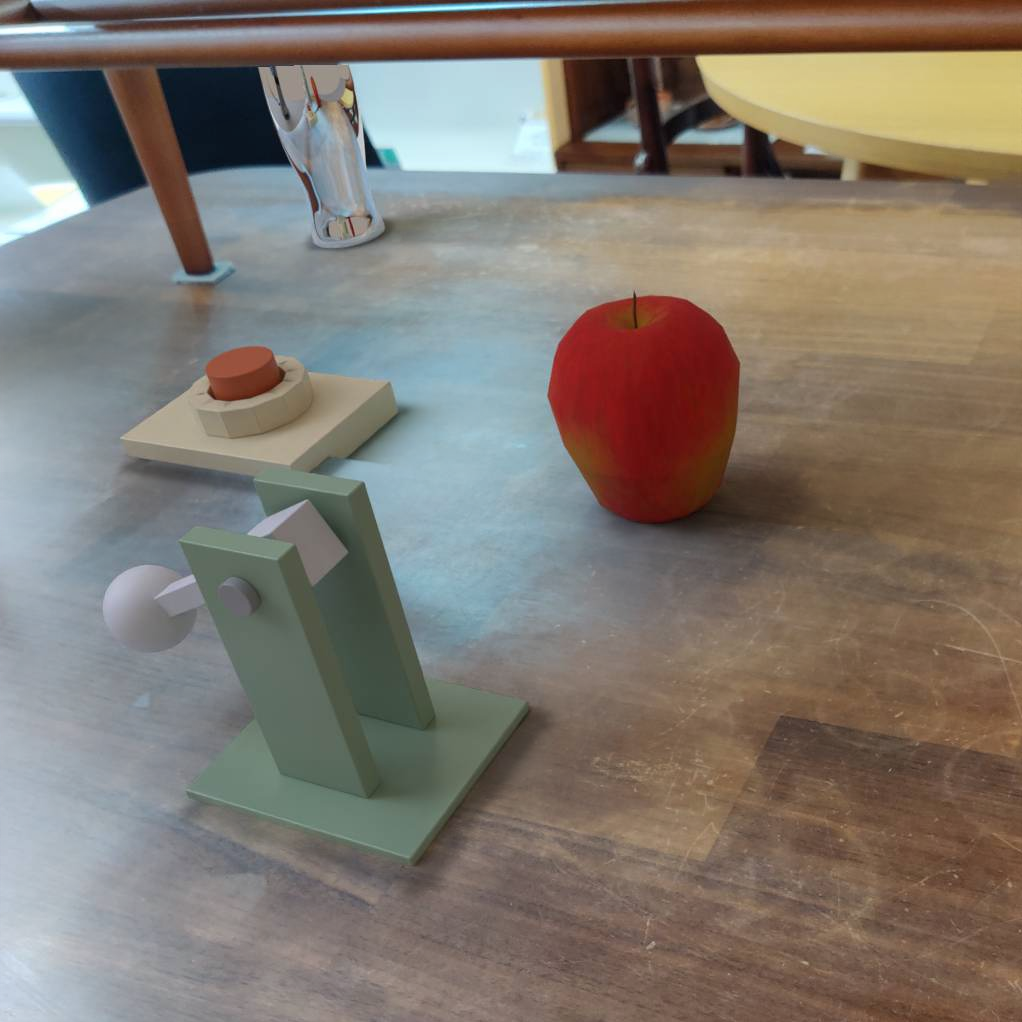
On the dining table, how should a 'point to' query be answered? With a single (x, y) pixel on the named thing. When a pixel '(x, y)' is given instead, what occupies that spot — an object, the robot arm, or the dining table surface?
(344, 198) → the beer glass
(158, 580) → the tap lever
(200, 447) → the cream button base
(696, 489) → the apple
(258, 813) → the bracket
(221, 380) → the button
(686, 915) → the dining table surface
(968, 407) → the dining table surface
